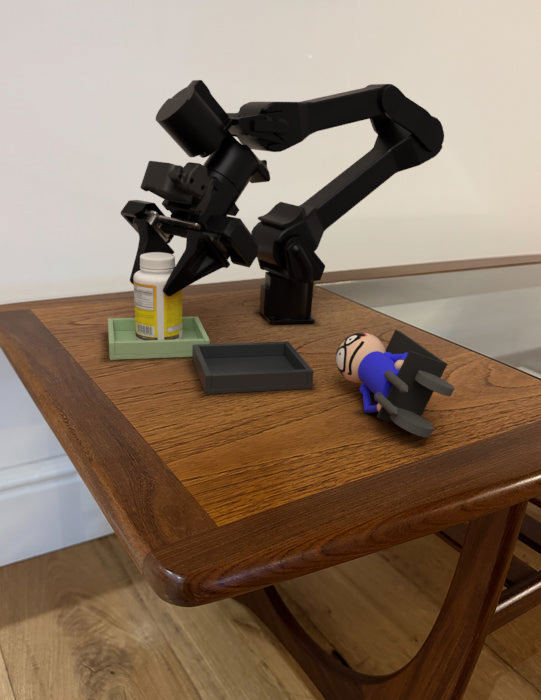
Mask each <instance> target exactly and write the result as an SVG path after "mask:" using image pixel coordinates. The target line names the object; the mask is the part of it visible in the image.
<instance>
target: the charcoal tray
mask: <svg viewBox="0 0 541 700" xmlns="http://www.w3.org/2000/svg"><path fill="white" fill-rule="evenodd" d="M191 360H192V361H191V362H192V364H193V366H194V369H195V372H196V374H197V377H198V380H199V382H200V385H201V386H202V389H203V393H204V394H205V395H214V394H215V395H216V394H234V393H235V394H236V393H237V394H238V393H252V392H253V393H254V392H255V393H256V392H271V391H272V392H273V391H291V390H293V391H294V390H309V389H310V390H311V389H313V380H314V370H313V368H311V366H310V364H308V363H307V362H306V360H305V359H304V358H303V357H302V355H300V353H299V352H298V351H297V350H296V349H295V347H294V346H293V345H292V344H291V342H290V341H264V342H263V341H262V342H260V341H259V342H231V343H230V342H229V343H210V344H195V345H193V349H192V359H191Z"/></svg>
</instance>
